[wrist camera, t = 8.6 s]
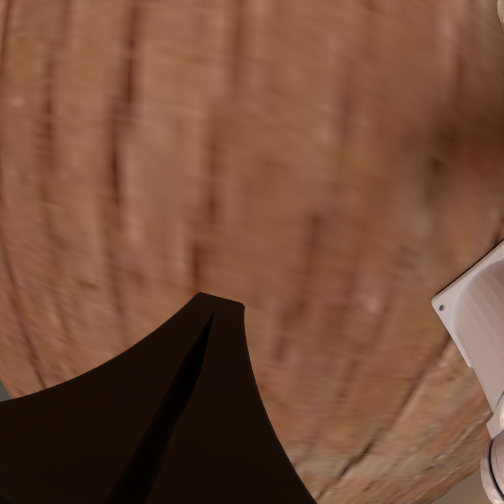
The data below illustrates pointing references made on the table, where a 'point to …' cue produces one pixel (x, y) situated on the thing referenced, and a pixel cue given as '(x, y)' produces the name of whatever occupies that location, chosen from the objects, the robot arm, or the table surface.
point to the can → (501, 12)
